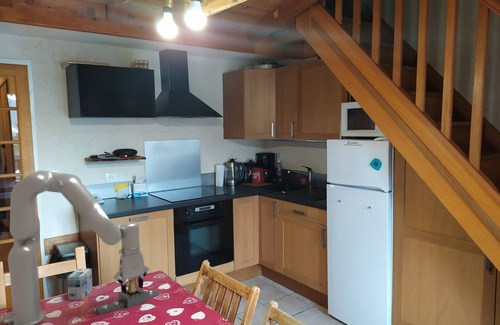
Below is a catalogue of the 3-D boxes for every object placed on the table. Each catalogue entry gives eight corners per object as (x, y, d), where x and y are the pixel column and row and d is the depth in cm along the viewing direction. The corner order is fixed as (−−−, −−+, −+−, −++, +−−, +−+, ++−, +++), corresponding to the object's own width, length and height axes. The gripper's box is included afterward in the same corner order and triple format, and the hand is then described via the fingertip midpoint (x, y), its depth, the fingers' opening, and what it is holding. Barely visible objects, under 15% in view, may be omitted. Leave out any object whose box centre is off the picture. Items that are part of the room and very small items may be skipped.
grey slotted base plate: (102, 316, 151) (101, 307, 151) (93, 309, 157) (93, 300, 157) (161, 296, 169) (161, 287, 169) (151, 290, 176) (151, 282, 176)
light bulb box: (82, 300, 167) (81, 276, 166) (67, 300, 167) (66, 276, 167) (93, 290, 178) (92, 268, 177) (79, 290, 178) (78, 268, 177)
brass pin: (131, 303, 162) (130, 281, 162) (127, 301, 165) (126, 279, 164) (137, 301, 165) (136, 279, 164) (134, 299, 167) (133, 277, 166)
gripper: (115, 257, 154) (117, 298, 156) (153, 248, 166) (154, 286, 168) (107, 253, 160) (109, 293, 161) (145, 244, 172) (146, 282, 173)
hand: (132, 289), depth 164 cm, fingers open, 7 cm apart
